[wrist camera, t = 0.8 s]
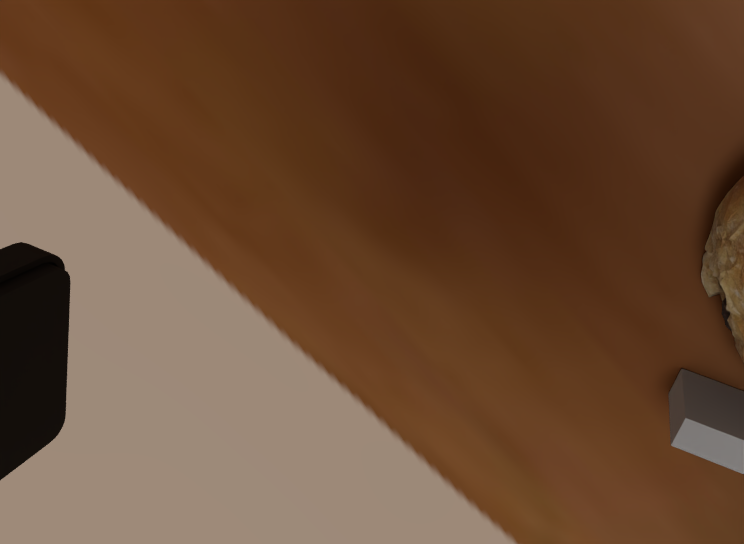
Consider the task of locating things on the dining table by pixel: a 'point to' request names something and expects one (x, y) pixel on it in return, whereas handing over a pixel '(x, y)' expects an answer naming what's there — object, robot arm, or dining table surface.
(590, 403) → the dining table surface
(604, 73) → the dining table surface
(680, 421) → the channel
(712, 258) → the bread roll
